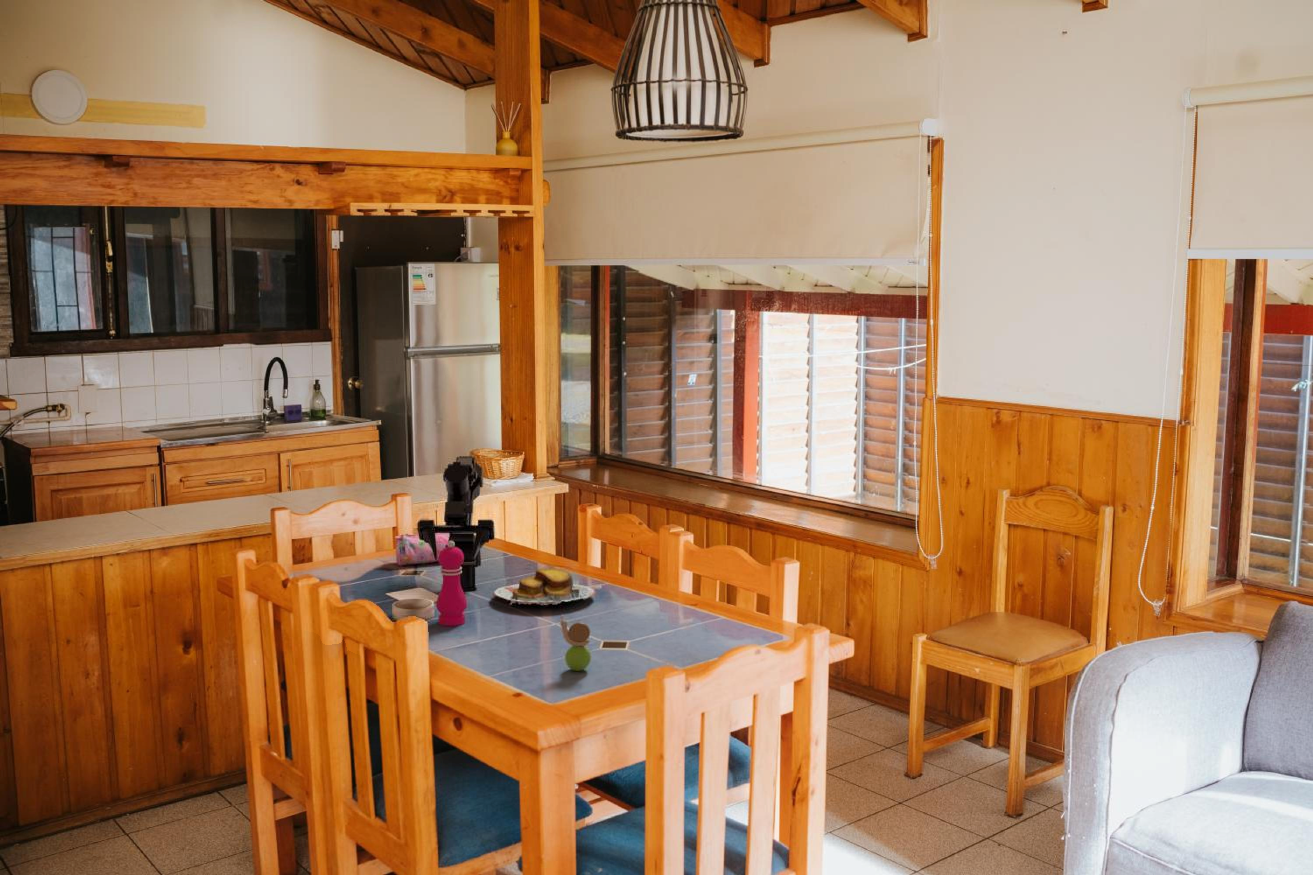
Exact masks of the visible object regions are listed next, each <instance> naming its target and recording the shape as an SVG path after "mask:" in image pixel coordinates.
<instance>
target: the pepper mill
mask: <svg viewBox="0 0 1313 875" xmlns="http://www.w3.org/2000/svg"><path fill="white" fill-rule="evenodd" d="M447 546H448V547H446V548H444V549H442V550H441V552H440V553H439V557H438V560H439V561H438V563H439V565H440V566H441V567H440V574H441V575H442V584H441V589H440V592H439V594H438V595H439V596H438V599H437V602H436V606H435V607H436V609H437V611H438V613H439V615H438V624H439V625H440V626H445V627H456V626H461V625H463V624H465V622H466V614H465V613H464V612H465V610H466V609H467V607H468V601H467V597H466V594H465V592H464V591H463V590H462V588H461V584H460V574H461V573H462V571H461V569H462V567H461V564H462V563H463V561H464V555H463V552H462V551H461V550H460V549H459V548H457V547H454V546H455V543H454V542H453V541H449V542H448V543H447Z"/></svg>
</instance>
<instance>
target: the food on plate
mask: <svg viewBox="0 0 1313 875" xmlns="http://www.w3.org/2000/svg"><path fill="white" fill-rule="evenodd" d="M492 596H493V599H496V597H498V598H502V599H503V600H504V599H505V600H506V601H509V602H510V603H509V606H511V605H512V604H517V603H518V605H522V604H523V605H533V604H536V605H539V606H549V605H550V604H551V605H558V604H561V603H562V602H564V603H565V602H569V603H570V602H575V601H579V600H586V599H589V598H592V597H593V596H594V597H596V590H595V589H594V588H592V587H590V586H586V585H583V584H582V585H581V584H577V583H576V584H574V580H573V577H572V575H571V573H570V572H568V571H566V570H564V569H559V568H548V567H547V568H545V567H544V568H538V569H536V570H535V575H534V576H529V577H525V578H522V579H520V580H519V583H516V584H511V585H507V586H501V587H498V588H496V589H495V590H494V591H493V592H492Z"/></svg>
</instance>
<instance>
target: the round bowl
mask: <svg viewBox="0 0 1313 875" xmlns="http://www.w3.org/2000/svg"><path fill="white" fill-rule="evenodd" d="M391 607H392V608H391V609H392V610H391V613H392V616H391V617H392V620H393V619H394V620H395V621H397V619H399V618H405V617H408V616H416V617H418V618H422V619H425V621H428V620H431V619H433V618H434V617H435V602H433V601H431V600H428V599H404V600H400V601H399V600H396V601H395V602H393V603H392V605H391Z"/></svg>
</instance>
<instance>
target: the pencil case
mask: <svg viewBox="0 0 1313 875" xmlns="http://www.w3.org/2000/svg"><path fill="white" fill-rule="evenodd" d="M449 534H450V533H436V536H435V537H436V546H437V560H435V558H434V555H433V552H432V549H431V547H430V545H429V543H425V542H424V540H420V539H419V535H417V534H409V533H405V534H401V535H400V536H399V535H396V536H394V538H395V539H396V542H395V543H396V544H395V545H396V546H395V548H396V550H395V556H396V557H395V558H396V564H397V565H398V566H408V565H409V566H410V565H421V564H422V565H423V564H429V563H435V562H439V560H438V557H439V553H440V552H441V550H442V549H444V548H445V546H446V545H447V543H448V540H449Z"/></svg>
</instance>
